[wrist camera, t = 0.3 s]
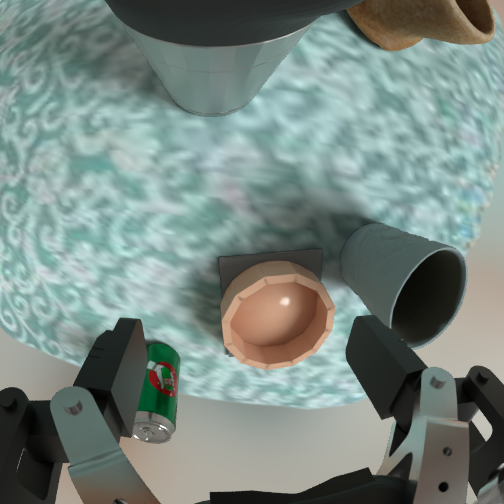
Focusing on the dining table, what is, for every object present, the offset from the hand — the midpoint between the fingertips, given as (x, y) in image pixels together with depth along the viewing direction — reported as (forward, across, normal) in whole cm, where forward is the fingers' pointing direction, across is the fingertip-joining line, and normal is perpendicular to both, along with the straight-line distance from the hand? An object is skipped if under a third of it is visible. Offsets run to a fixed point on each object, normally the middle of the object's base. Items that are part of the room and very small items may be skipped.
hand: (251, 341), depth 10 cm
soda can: (+19, +8, +17) cm, 26 cm away
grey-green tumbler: (+19, -17, +3) cm, 26 cm away
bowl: (+18, -5, +10) cm, 21 cm away
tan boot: (+19, -18, -28) cm, 39 cm away
